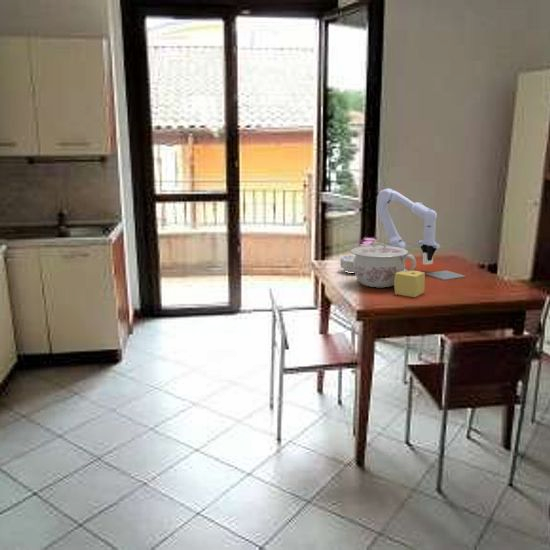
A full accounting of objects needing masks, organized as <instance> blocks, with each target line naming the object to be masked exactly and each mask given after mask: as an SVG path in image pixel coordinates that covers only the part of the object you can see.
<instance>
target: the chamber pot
mask: <svg viewBox="0 0 550 550" xmlns="http://www.w3.org/2000/svg"><path fill="white" fill-rule="evenodd" d="M350 254H351V255H356V256H355V258H354V260H353V267H354V273H355V274H354V275H355V277H356V279H357V280H358V282H359V283H360V284H362V285H363V286H365V285H366V286H365V287H368V286H369V287H368V288H373V287H376V288H375V289H384V288H385V287H387V288H390V287H394V279H395V273H397V272H401V271H404V268H405V267H406V259H410V260H411V266H410V268H409V269H407V270H408V271H414V270H415V268H416V266H417V260H416V258H415V255H413V254H411V253H409V251H408V249H407V248H406V249H403V248H400V247H396V246H391V245H389V244H384V243H382V242H378V243H375V244H374V245H366V246H360V247H358V246H357V247H353V248H352V249H350ZM404 255H405V256H404ZM403 256H404V257H403ZM405 269H406V268H405ZM385 289H386V288H385Z"/></svg>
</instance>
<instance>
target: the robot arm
mask: <svg viewBox="0 0 550 550" xmlns="http://www.w3.org/2000/svg"><path fill="white" fill-rule="evenodd" d="M376 198H377V201H376V211H377V213H378V216H379V219H380V220H381V223H382V225H383V226H384V229H385V232H386V233H387V236H388V238H389V246H396V247H400V248H403V249H406V250H407V244H406V242H405V241H404V240H403V239H402V236H400V235H399V232H398V230H397V228H396V226H395V224H394V221H393V219H392V216H391V215H390V212H389V210H388V207H389V204H390V202H399V203H400V204H403V205H404V206H406V207H407V208H409V209H410V210H411V212H412V213H413V214H415V215H417V216H418V217H419V218H422V219H423V220H424V225H423V226H424V227H423V239H420V240H417V241H418V243H417V244H418V245H420V249H421V251H422V254H423V253H425V252H427V259H428V261H429V260H432V257H433V258H434V254H435V252H436V250H438V249H440V248H441V243H440V244H439V243H438V242H436V229H437V228H436V226H437V225H436V224H437V217H438V214H437V211H436V210H434V209H431V208H430V207H427V206H425V205H423V203H422V202H419V201H417V202H414V201H412V200H410V199H409V198H407V196H404V195H403V194H402V193H400V192H399V191H397V190H394V189H392V188H390V187H389V188H388V187H387V188H385V189H382V190H381V191H379V193H378V195H377V197H376ZM404 256H405V255H404ZM404 256H403V257H404ZM408 270H409V269H406V268H404V271H408Z"/></svg>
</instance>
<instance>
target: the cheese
mask: <svg viewBox="0 0 550 550" xmlns="http://www.w3.org/2000/svg"><path fill="white" fill-rule="evenodd" d="M425 278H426V273H425V271H419V270H412V271H401V272H397V273H395V279H394V285H393V288H394V294H395V295H397V294H398V295H399V296H403V297H411V298H417V297H418V296H420V295H422V294H424V293H425V284H426V283H425V282H426V281H425V280H426V279H425ZM398 295H397V296H398Z"/></svg>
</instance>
